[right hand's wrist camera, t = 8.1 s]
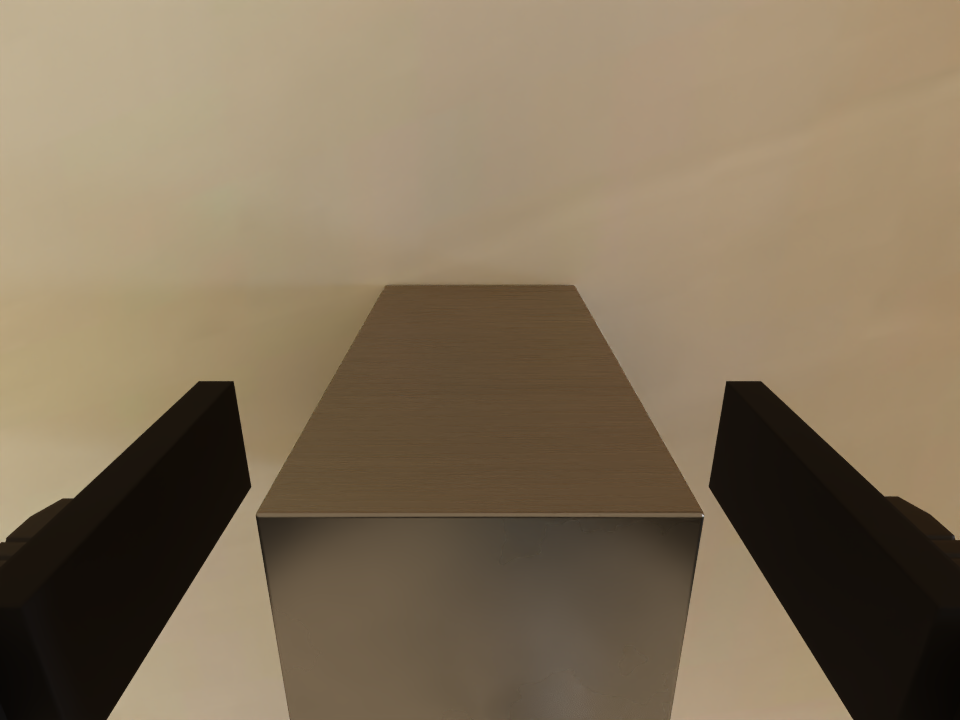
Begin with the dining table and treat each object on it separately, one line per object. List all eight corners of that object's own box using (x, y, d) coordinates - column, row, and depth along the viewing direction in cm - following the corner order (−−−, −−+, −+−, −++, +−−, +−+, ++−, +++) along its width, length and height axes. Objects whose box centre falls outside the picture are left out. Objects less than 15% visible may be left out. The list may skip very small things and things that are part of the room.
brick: (563, 479, 17) (649, 851, 8) (396, 479, 17) (310, 850, 8) (575, 284, 15) (706, 513, 6) (384, 284, 15) (253, 513, 6)
